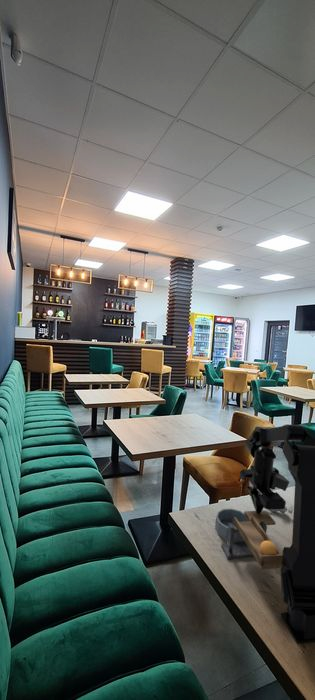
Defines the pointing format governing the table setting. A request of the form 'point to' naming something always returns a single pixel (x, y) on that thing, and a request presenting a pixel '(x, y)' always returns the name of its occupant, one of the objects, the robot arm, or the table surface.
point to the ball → (267, 548)
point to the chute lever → (258, 538)
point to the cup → (227, 517)
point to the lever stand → (237, 545)
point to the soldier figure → (283, 510)
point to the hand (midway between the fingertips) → (258, 512)
